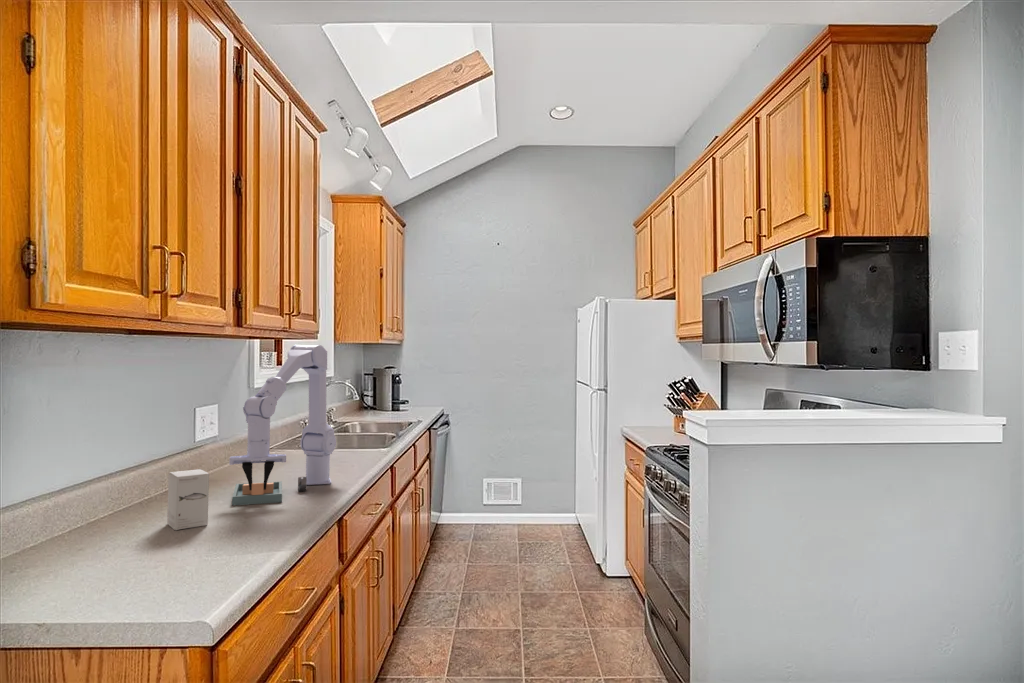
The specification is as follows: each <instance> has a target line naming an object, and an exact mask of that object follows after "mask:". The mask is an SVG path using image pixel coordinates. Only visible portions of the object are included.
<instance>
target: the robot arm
mask: <svg viewBox="0 0 1024 683" xmlns="http://www.w3.org/2000/svg"><path fill="white" fill-rule="evenodd" d="M300 369H302V370H303V371H304V372H305V373H306V374H307V375H308V424H307V425H306V426H305V427H304V428H302V430H301V431H302V432H301V433H302V435H301V438H300V440H299V441H300V444H299V445H300V449H301V450H302V451H303V452H304V453H303V454H304V455H305V477H307V482H306V486H311V485H312V486H313V485H330V484H332V483H333V482H332V479H331V477H330V468H331V467H330V466H331V464H330V463H331V462H330V460H331V455H332V454H333V452H335V448H336V445H337V439H336V436H335V429H334V428H333V427H332V426H331V425H330V424H328V423H327V371H328V351H327V350H326V348H325V347H324V346H323V345H320V344H317V345H312V344H307V345H306V344H294V345H292V346H291V347H290V349H289V350H288V351H287V359H286V360H285V362H284V363H283V365H282V366H281V368H280V369H279V370H278V372H277V374H276V375H275V376H271V377H269V378H267V379H266V380H265V383H264V384H263V385H262V386H261V388H260V389H259V390H258V391H257V393H256V394H255V395H254V396H250V397H249V398H248V399H246V401H245V402H244V405H243V407H242V411H243V414H244V416H245V422H246V423H247V445H246V446H247V448H246V449H247V450H246V451H247V452H246V453H247V454H244V455H234V456H233V455H231V456H229V460H228V461H229V463H228V464H229V465H230V466H231V465H241V464H242V466H241V467H242V471H243V472H244V474H245V476H246V479H247V483H249V490H252V483H253V464H264V465H263V467H264V471H263V472H264V473H263V482H264V490H266V485H267V482H269V477H270V475H271V472H272V470H273V468H274V466H275V463H286V462H287V454H284V453H283V454H282V453H281V454H280V453H279V454H277V453H275V454H273V453H272V454H271V453H270V449H271V447H270V446H271V445H270V443H271V442H270V438H271V437H270V436H271V433H270V432H271V417H272V416H273V415H274V414H275V413H276V412H275V411H276V408H277V404H278V402H279V399H280V398H281V397H282V396H283V394H284V393H285V392H286V391H287V383H288V382H289V381H290V380H291V379H292V377H294V375H296V373H297V372H298V371H299V370H300Z"/></svg>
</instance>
